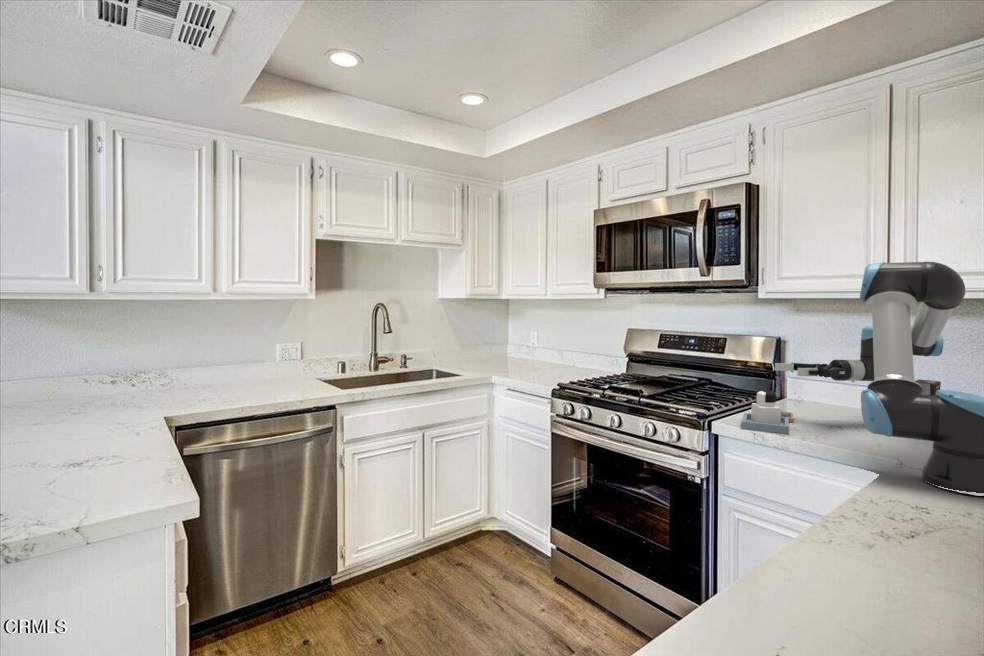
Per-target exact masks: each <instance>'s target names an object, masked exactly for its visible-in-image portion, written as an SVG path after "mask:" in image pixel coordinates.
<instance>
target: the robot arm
mask: <svg viewBox="0 0 984 656" xmlns="http://www.w3.org/2000/svg"><path fill="white" fill-rule="evenodd" d="M965 295H966V285H965V282H964V280H963V278H962V276H961V275H960V274H959V273H958V272H957V271H956V270H955V269H953V268H951V267H950V266H948V265H946V264H943V263H941V262H937V261H936V262H935V261H915V262H914V261H912V262H910V261H909V262H907V261H906V262H886V261H885V262H884V261H883V262H877V263H876V262H875V263H874V262H873V263H870V264H867V265H866V266H865V268H864V272H863V277H862V282H861V288H860V293H859V300H858V301H860V302H863V303H865V307H866V308H867V309H868V310H869V311H871V312H872V316H871V317H872V319H871V320H872V326H864V327H863V328H862V329H861V330H862V331H861V337H860V356H859V359H833V360H831V361H830V363H829V364H828V363H800V362H799V363H798V362H790V363H789V362H788V363H787V362H786V363H785V362H784V363H783V362H781V363H780V362H775V363H774V371H776V372H777V371H778V372H791V373H794V371H797V374H796V375H797V377H819V378H822V377H823V378H831V380H834V381H835V382H836V381H842V382H843V381H850V382H851V383H855V381H857V382H861V381H862V382H869V383H868V384H867V388H866V389H863V390H861V393H860V404H861V406H860V408H861V416H862V419H863V423H864V424H863V425H864V426H865V429H866V430H867V431H868V432H869V433H871V434H874V435H880V436H886V437H888V438H890V437H891V438H892V437H893V438H902V439H903V438H905V439H913V440H919V441H920V440H921V441H927V442H928V441H930V442H932V451H931V453H930V455H929V457H928V459H927V460H926V463H924V466H923V467H922V471H921V479H922V480H923V479H924V480H925V481H927V482H929V483H931V484H934V485H937V486H941V487H944V488H948V489H953V490H959V491H966V492H976V493H984V396H981V395H976V394H972V393H968V392H962V391H957V390H956V391H955V390H950V389H940V390H938V391H937V392H936V393H935V394H936V395H924V394H923V389H922V386H921V385H920V384H918V383H917V382H915V381H916V380H915V369H914V356H918V357H919V356H920V357H921V356H922V357H938V356H939V357H940V356H941V355H942V354H943V349H944V338H943V336H942V335H941V334H942V333H943V330H944V328H945V326H946V323H947V321H948V319H949V318H950V316H951V313H952V312H953V311H954V309H955V308H957V307H959V306H960V305H961V303H962V302H963V301H964V300H963V299H964V298H965ZM917 303H920V305H919V307H918V310H917V313H916V315H915V318H914V320H913V323H912V325H911V322H912V321H911V310H912V309H914V308H915V307H916V305H917ZM924 480H923V481H924ZM925 481H924V482H925Z"/></svg>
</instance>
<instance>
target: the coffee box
mask: <svg viewBox="0 0 984 656" xmlns="http://www.w3.org/2000/svg"><path fill="white" fill-rule="evenodd" d="M914 381H915V382H917V383H918V384H920V385H921V386H922V389H923V394H924V395H936V394H935V393H936V392H937V391H938V390H941V384H942V383H941V381H939V380H930V379H921V378H920V379H917V380H914Z"/></svg>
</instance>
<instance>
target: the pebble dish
mask: <svg viewBox="0 0 984 656" xmlns="http://www.w3.org/2000/svg"><path fill="white" fill-rule="evenodd" d="M786 412H787V413H788V420H789V424H790V423H794V422H795V417H794V412H790V411H786ZM794 424H795V423H794Z"/></svg>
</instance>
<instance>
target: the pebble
mask: <svg viewBox="0 0 984 656" xmlns="http://www.w3.org/2000/svg"><path fill="white" fill-rule="evenodd" d="M787 412H788V411H783V410H782V412H781V417H788V413H787Z"/></svg>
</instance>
